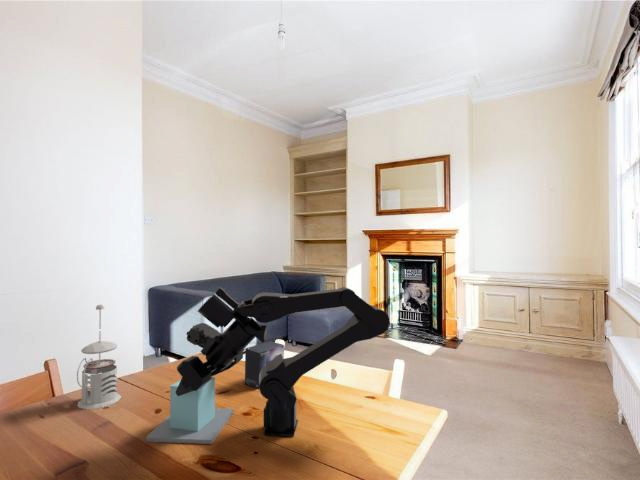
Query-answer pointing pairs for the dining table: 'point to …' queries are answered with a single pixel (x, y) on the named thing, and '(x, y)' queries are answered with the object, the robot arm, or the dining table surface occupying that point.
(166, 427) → the post board
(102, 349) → the french press
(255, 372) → the small box
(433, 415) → the dining table surface
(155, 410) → the dining table surface
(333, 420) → the dining table surface
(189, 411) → the pale blue cube block
